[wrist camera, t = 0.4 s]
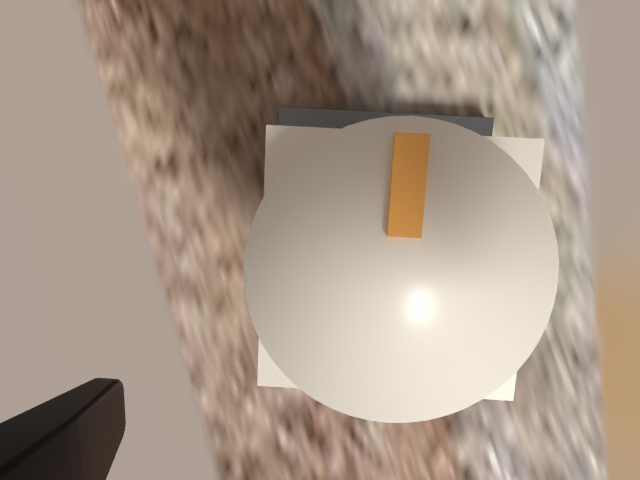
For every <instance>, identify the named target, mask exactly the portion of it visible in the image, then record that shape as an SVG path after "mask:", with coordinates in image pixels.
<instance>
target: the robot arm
mask: <svg viewBox="0 0 640 480" xmlns="http://www.w3.org/2000/svg"><path fill="white" fill-rule="evenodd" d="M125 423H126V422H125V404H124V388H123V384H122V382H121V381H120V380H118V379H108V378H95V379H93V380H91V381H89V382H87V383H84V384H82V385H80V386H78V387H76V388H74V389H72V390H70V391H67V392H65V393H63V394H61V395H59V396H57V397H55V398H53V399H51V400H49V401H46V402H44V403H42V404H40V405H38V406H36V407H34V408H32V409H30V410H28V411H25V412H24V413H21V414H19V415H17V416H15V417H13V418H11V419H8V420H6V421H4V422H2V423H0V480H106V477H107V475H108V473H109V470H110V468H111V465H112V463H113V460H114V458H115V455H116V452H117V450H118V448H119V445H120V443H121V440H122V438H123V435H124V431H125Z"/></svg>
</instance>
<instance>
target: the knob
mask: <svg viewBox="0 0 640 480" xmlns="http://www.w3.org/2000/svg"><path fill="white" fill-rule="evenodd" d="M544 144H545V139H532V138H512V137H493V136H481V135H479V134H478V133H476V132H474V131H472V130H469V129H467V128H464V127H462V126H459V125H457V124H454V123H450V122H447V121H443V120H439V119H435V118H427V117H419V116H388V117H382V118H375V119H369V120H366V121H362V122H359V123H355V124H352V125H348V126H346V127H344V128H342V129H338V128H319V127H299V126H280V125H266V144H265V174H264V198H263V199H262V201H261V203H260V205H259V207H258V209H257V211H256V214H255V216H254V219H253V222H252V224H251V227H250V230H249V235H248V239H247V243H246V248H245V257H244V268H243V270H244V290H245V296H246V301H247V307H248V310H249V314H250V317H251V320H252V323H253V326H254V328H255V331H256V333H257V335H258V337H259V351H258V380H257V386H271V387H288V388H299V389H301V390H302V391H303V392H305V393H306V394H308V395H309V396H310V397H312V398H313V399H315V400H317V401H318V402H320V403H322V404H324V405H326V406H328V407H330V408H332V409H334V410H337V411H339V412H342V413H344V414H347V415H350V416H354V417H358V418H362V419H366V420H371V421H379V422H387V423H409V422H417V421H425V420H430V419H434V418H438V417H442V416H446V415H449V414H452V413H454V412H457V411H460V410H462V409H465V408H467V407H469V406H471V405H473V404H474V403H476V402H478V401H480V400H482V399H492V400H509V401H513V398H514V390H515V382H516V374H517V370H518V369H519V368H520V367H521V366H522V365H523V363H524V362H525V361H526V360H527V359H528V357H529V356H530V354H531V353H532V351H533V350H534V348H535V347H536V345H537V344H538V342H539V340H540V338H541V336H542V334H543V332H544V330H545V328H546V326H547V324H548V321H549V318H550V315H551V312H552V309H553V306H554V302H555V297H556V292H557V287H558V273H559V259H558V245H557V240H556V236H555V231H554V226H553V223H552V220H551V218H550V215H549V212H548V209H547V206H546V204H545V203H544V201H543V199H542V197H541V195H540V193H539V185H540V176H541V168H542V160H543V152H544Z"/></svg>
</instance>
